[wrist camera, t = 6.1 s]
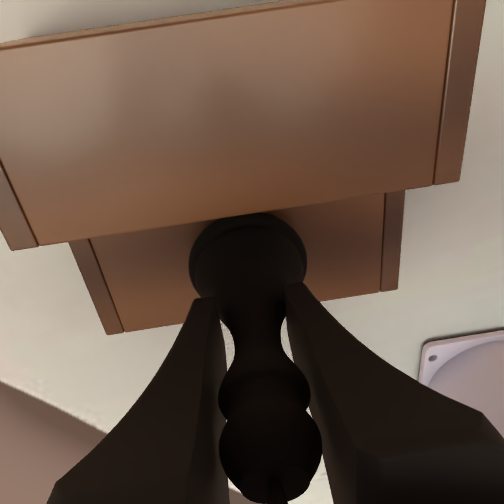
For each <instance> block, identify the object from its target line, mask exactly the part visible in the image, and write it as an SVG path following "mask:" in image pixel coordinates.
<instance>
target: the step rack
mask: <svg viewBox="0 0 504 504" xmlns="http://www.w3.org/2000/svg"><path fill="white" fill-rule="evenodd" d="M485 5H486V0H285V1H278V2H271V3H265V4H258V5H251V6H244V7H237V8H230V9H223V10H216V11H210V12H203V13H196V14H189V15H182V16H175V17H168V18H161V19H155V20H148V21H141V22H134V23H127V24H120V25H113V26H106V27H99V28H93V29H86V30H79V31H72V32H65V33H58V34H51V35H46V36H45V35H44V36H37V37H31V38H24V39H19V40H14V41H9V42H4V43H0V230H1V232H2V234H3V236H4V238H5V240H6V242H7V244H8V246H9V248H10V250H11V251H14V250H21V249H27V248H34V247H38V246H39V245H40V246H44V245H51V244H57V243H64V242H68V243H69V245H70V247H71V250H72V252H73V255H74V257H75V259H76V262H77V264H78V267H79V269H80V272H81V274H82V276H83V279H84V281H85V284H86V286H87V289H88V291H89V293H90V296H91V298H92V301H93V303H94V305H95V308H96V310H97V313H98V315H99V318H100V320H101V322H102V325H103V327H104V330H105V332H106V334H107V335H113V334H119V333H123V332H124V331H125V332H131V331H137V330H144V329H150V328H156V327H163V326H169V325H175V324H182V323H184V322H185V319H186V317H187V315H188V312H189V310H190V307H191V304H192V302H193V300H194V299H195V298H201V297H200V296H199V295H198V293H197V292H196V290H195V289H194V287H193V285H192V282H191V279H190V276H189V269H188V263H189V255H190V251H191V248H192V246H193V244H194V242H195V240H196V238H197V237H198V236H199V235H200V234H201V232H202V231H203V230H204V229H205V228H206V227H208V226H209V225H210V224H211V223H213V222H214V221H216V220H218V219H220V218H226V217H232V216H239V215H245V214H252V213H258V212H261V213H266V214H269V215H273V216H275V217H277V218H279V219H281V220H283V221H285V222H286V223H287V224H289V225H290V226H291V227H292V228H293V229H294V230H295V231H296V232H297V234H298V235H299V236H300V238H301V240H302V242H303V244H304V246H305V249H306V253H307V272H306V275H305V278H304V281H303V283H304V284H306V286H307V287H308V288H309V290H310V291H311V292H312V294H313V295H314V296H315V297H316V299H317V300H318V301H319V302H321V301H327V300H333V299H340V298H346V297H352V296H359V295H365V294H371V293H377V292H380V291H381V292H384V291H391V290H397V289H398V278H399V265H400V252H401V239H402V226H403V213H404V200H405V190H408V189H414V188H421V187H427V186H431V185H432V184H433V185H439V184H446V183H452V182H458V181H459V180H460V173H461V166H462V160H463V153H464V146H465V140H466V133H467V126H468V119H469V113H470V106H471V99H472V93H473V86H474V79H475V72H476V66H477V59H478V52H479V46H480V39H481V32H482V25H483V19H484V12H485Z"/></svg>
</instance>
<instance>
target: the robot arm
mask: <svg viewBox="0 0 504 504" xmlns="http://www.w3.org/2000/svg"><path fill="white" fill-rule="evenodd" d="M283 293H284V303H285V311H286V322H287V331H288V337H289V342H290V347H291V351H292V356H293V360H294V364H295V365H296V366H297V367H298V368H299V369H300V370H301V371H302V372H303V374H304V375H305V377H306V379H307V381H308V383H309V386H310V391H311V398H310V403H309V405H308V406H309V409H310V412H311V415H312V418H313V420H314V421H315V422H316V424H317V426H318V428H319V431H320V434H321V438H322V454H323V459H324V463H325V467H326V471H327V476H328V480H329V485H330V489H331V493H332V498H333V502H334V504H504V330H501V331H495V332H488V333H482V334H476V335H470V336H463V337H457V338H451V339H445V340H439V341H432V342H428V343H427V344H425V345H424V347H423V349H422V357H421V364H420V372H419V380H418V381H416V380H415V379H413V378H411V377H410V376H408V375H406V374H405V373H403V372H401V371H400V370H398V369H397V368H395V367H393V366H392V365H390V364H389V363H388V362H386V361H385V360H383V359H382V358H380V357H379V356H378V355H376V354H375V353H374V352H372V351H371V350H370V349H368V348H367V347H366V346H365V345H363V344H362V343H361V342H360V341H359V340H357V339H356V338H355V337H354V336H353V335H352V334H351V333H350V332H348V331H347V330H346V329H345V328H344V327H343V326H342V325H341V324H340V323H339V322H338V321H337V320H336V319H335V318H334V317H333V316H332V315H331V314H330V313H329V312H328V311H327V310H326V309H325V308H324V307H323V305H322V304H321V303H320V302H319V301H318V300H317V299H316V297H315V296H314V295H313V294H312V292H311V291H310V290H309V288H308V287H307V286H306V284H304V283H303V282H297V283H291V284H284V285H283ZM226 373H227V363H226V352H225V343H224V338H223V333H222V329H221V324H220V319H219V315H218V310H217V306H216V301H215V296H208V297H202V298H195V299H194V300H193V302H192V304H191V307H190V310H189V312H188V315H187V317H186V319H185V322H184V324H183V326H182V328H181V330H180V332H179V334H178V336H177V338H176V340H175V342H174V344H173V346H172V348H171V350H170V351H169V353H168V355H167V357H166V358H165V360H164V362H163V363H162V365H161V367H160V368H159V370H158V372H157V373H156V375H155V376H154V378H153V379H152V381H151V382H150V384H149V385H148V386H147V388H146V389H145V391H144V392H143V393H142V395H141V396H140V397H139V398H138V400H137V401H136V402H135V404H134V405H133V406H132V407H131V409H130V410H129V411H128V412H127V413H126V415H125V416H124V417H123V418H122V419H121V420H120V422H119V423H118V424H117V425H116V426H115V427H114V428H113V429H112V430H111V431H110V432H109V433H108V434H107V435H106V437H105V438H104V439H103V440H102V441H101V442H100V443H99V444H98V445H97V446H96V447H95V448H94V449H93V450H92V451H91V452H90V453H89V454H88V455H86V456H85V457H84V458H83V459H82V460H81V461H80V462H79V463H77V464H76V465H75V466H74V467H73V468H72V469H71V470H70V471H69V472H67V473H66V474H65V475H64V476H63V477H62V478H60V479H59V480H58V481H57V482H56V483H55V485H54V488H53V490H52V493H51V495H50V497H49V499H48V501H47V504H230V501H229V488H228V477H227V475H226V474H225V472H224V470H223V467H222V465H221V462H220V458H219V439H220V436H221V433H222V430H223V428H224V426H225V424H226V419H225V418H224V416H223V415H222V413H221V411H220V409H219V406H218V392H219V388H220V385H221V383H222V380H223V378H224V376H225V375H226Z"/></svg>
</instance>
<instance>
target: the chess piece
mask: <svg viewBox="0 0 504 504" xmlns="http://www.w3.org/2000/svg"><path fill="white" fill-rule="evenodd" d="M188 269H189V276H190V279H191V282H192V285H193V287H194V289H195V290H196V292H197V293H198V295H199V296H200V297H201V298H202V297H208V296H215V301H216V306H217V310H218V315H219V319H220V320H221V321H222V322H223V323H224V324H225V326H226V327H227V328H228V329H229V330H230V332H231V334H232V337H233V340H234V346H235V355H234V360H233V362H232V364H231V366H230V368H229V369H228V371H227V373H226V375H225V376H224V378H223V380H222V383H221V385H220V388H219V392H218V406H219V409H220V411H221V413H222V415H223V416H224V418H225V419H227V422H226V424H225V426H224V428H223V430H222V433H221V436H220V439H219V458H220V462H221V465H222V467H223V470H224V472H225V474H226V475H227V477H228V478H229V479H230V481H231V482H232V483H233V484H234V485H235V486H236V487H237V488H238V489H239V490H240V491H241V493H242V494H243V496H244V497H246V498H247V499H249V500H250V501H253V502H256V503H261V504H288V502H287V501H290V500H293V499H295V498H297V497H299V496H300V495H302V494H303V493H304V492H305V491H306V490H307V489H308V487H309V484H310V481H311V480H312V478H313V476H314V475H315V473H316V471H317V469H318V466H319V464H320V461H321V456H322V438H321V434H320V431H319V428H318V426H317V424H316V422H315V421H314V420H313V418H312V417H311V416H310V415H309V414H308V413H307V412H306V409H307V408H308V405H309V403H310V398H311V391H310V386H309V383H308V381H307V379H306V377H305V375H304V374H303V372H302V371H301V370H300V369H299V368H298V367H297V366H296V365H295V364H294V363H293V362H292V361H291V360H290V358H289V357H288V356H287V355H286V354H285V352H284V350H283V347H282V344H281V326H282V323H283V320H284V318H285V317H286V311H285V303H284V293H283V285H284V284H291V283H297V282H303V281H304V278H305V275H306V272H307V253H306V249H305V246H304V244H303V242H302V240H301V238H300V236H299V235H298V234H297V232H296V231H295V230H294V229H293V228H292V227H291V226H290V225H289V224H287V223H286V222H285V221H283V220H281V219H279V218H277V217H275V216H273V215H269V214H266V213H261V212H258V213H252V214H245V215H239V216H232V217H226V218H220V219H218V220H216V221H214V222H213V223H211V224H210V225H209V226H208V227H206V228H205V229H204V230H203V231H202V232H201V234H200V235H199V236H198V237H197V238H196V240H195V242H194V244H193V246H192V248H191V251H190V255H189V263H188Z"/></svg>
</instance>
